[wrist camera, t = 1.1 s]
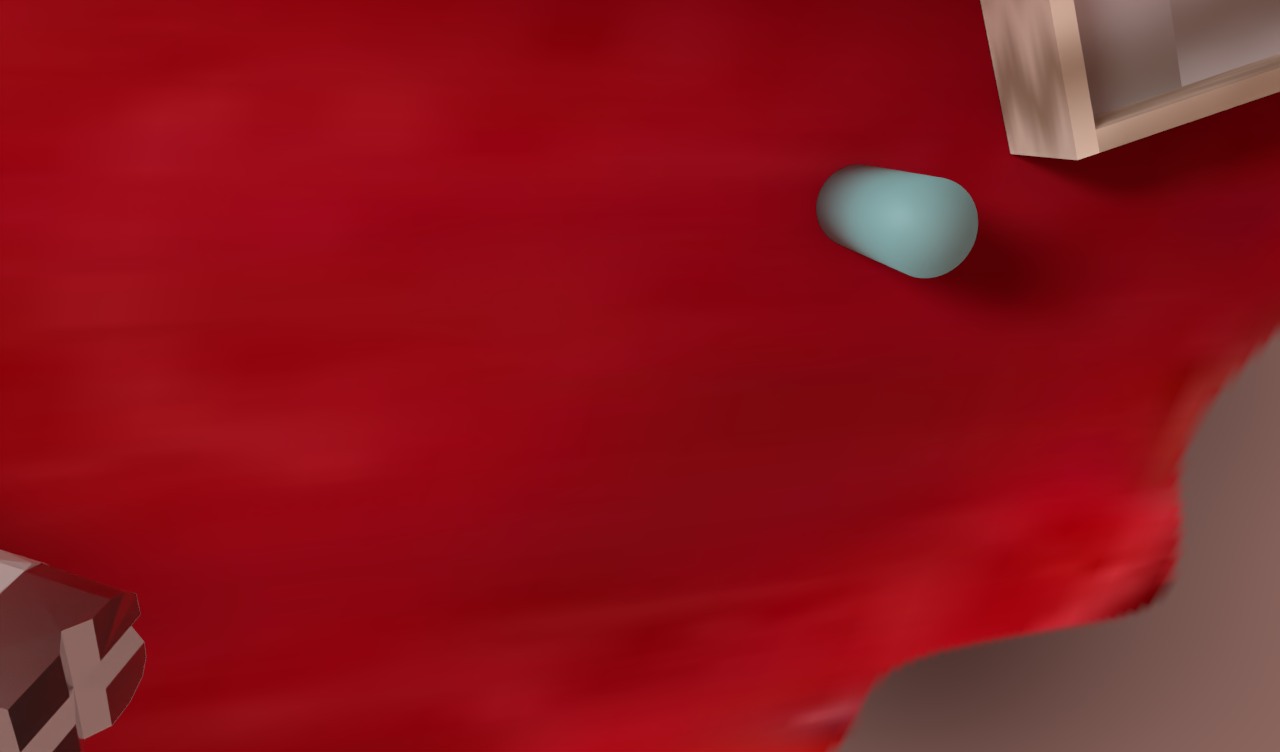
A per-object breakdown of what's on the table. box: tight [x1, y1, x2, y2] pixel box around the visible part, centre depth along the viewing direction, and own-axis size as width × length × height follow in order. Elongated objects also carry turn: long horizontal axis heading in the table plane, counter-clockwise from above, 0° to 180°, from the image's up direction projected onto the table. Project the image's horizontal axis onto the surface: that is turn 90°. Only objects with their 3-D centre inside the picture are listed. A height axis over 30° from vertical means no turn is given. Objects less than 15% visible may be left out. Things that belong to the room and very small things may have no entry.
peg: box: [816, 164, 978, 278], centre depth 42 cm, size 4×4×9 cm
